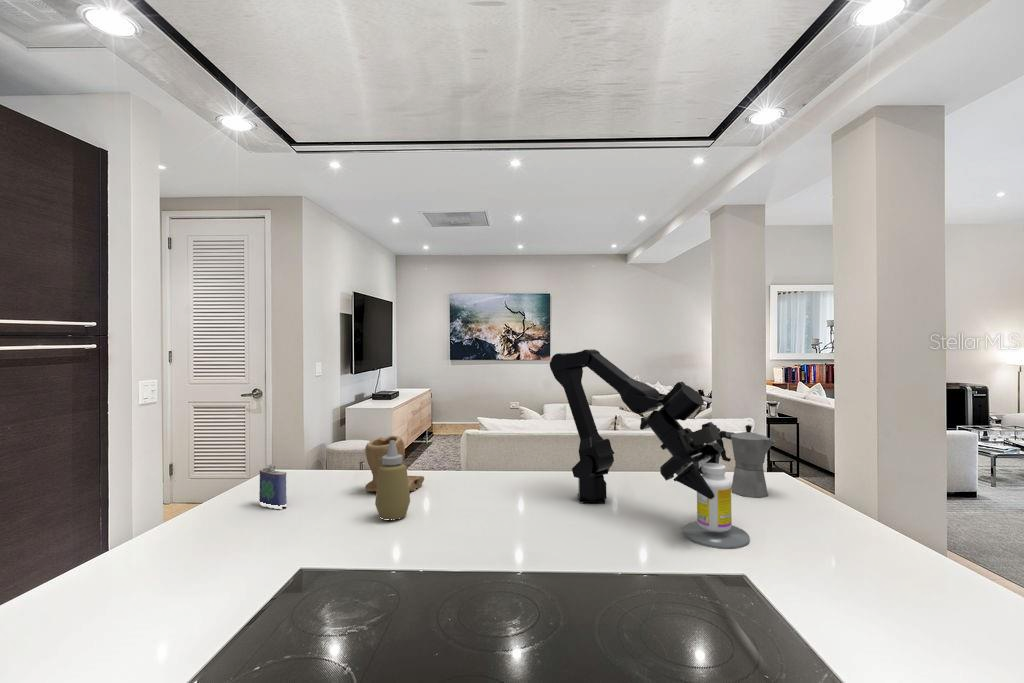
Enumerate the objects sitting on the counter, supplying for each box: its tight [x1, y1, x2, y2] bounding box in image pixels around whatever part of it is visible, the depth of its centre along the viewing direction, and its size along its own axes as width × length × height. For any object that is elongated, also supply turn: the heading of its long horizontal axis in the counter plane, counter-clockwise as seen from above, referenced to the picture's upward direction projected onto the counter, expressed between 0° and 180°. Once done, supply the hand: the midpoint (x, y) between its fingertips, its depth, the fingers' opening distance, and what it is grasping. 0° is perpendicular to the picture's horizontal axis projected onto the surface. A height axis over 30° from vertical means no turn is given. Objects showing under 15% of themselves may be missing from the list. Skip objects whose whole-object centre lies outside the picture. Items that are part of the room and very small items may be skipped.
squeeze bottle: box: [374, 440, 411, 520], centre depth 113 cm, size 8×8×18 cm
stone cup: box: [364, 435, 425, 493], centre depth 133 cm, size 15×12×15 cm
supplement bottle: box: [696, 463, 733, 532], centre depth 100 cm, size 7×7×13 cm
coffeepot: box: [715, 424, 777, 499], centre depth 129 cm, size 15×9×18 cm, turn 44°
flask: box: [258, 463, 288, 506], centre depth 121 cm, size 9×3×11 cm, turn 61°
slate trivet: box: [681, 520, 751, 550], centre depth 100 cm, size 13×13×1 cm
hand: (720, 494), depth 99 cm, fingers closed on supplement bottle, 6 cm apart
